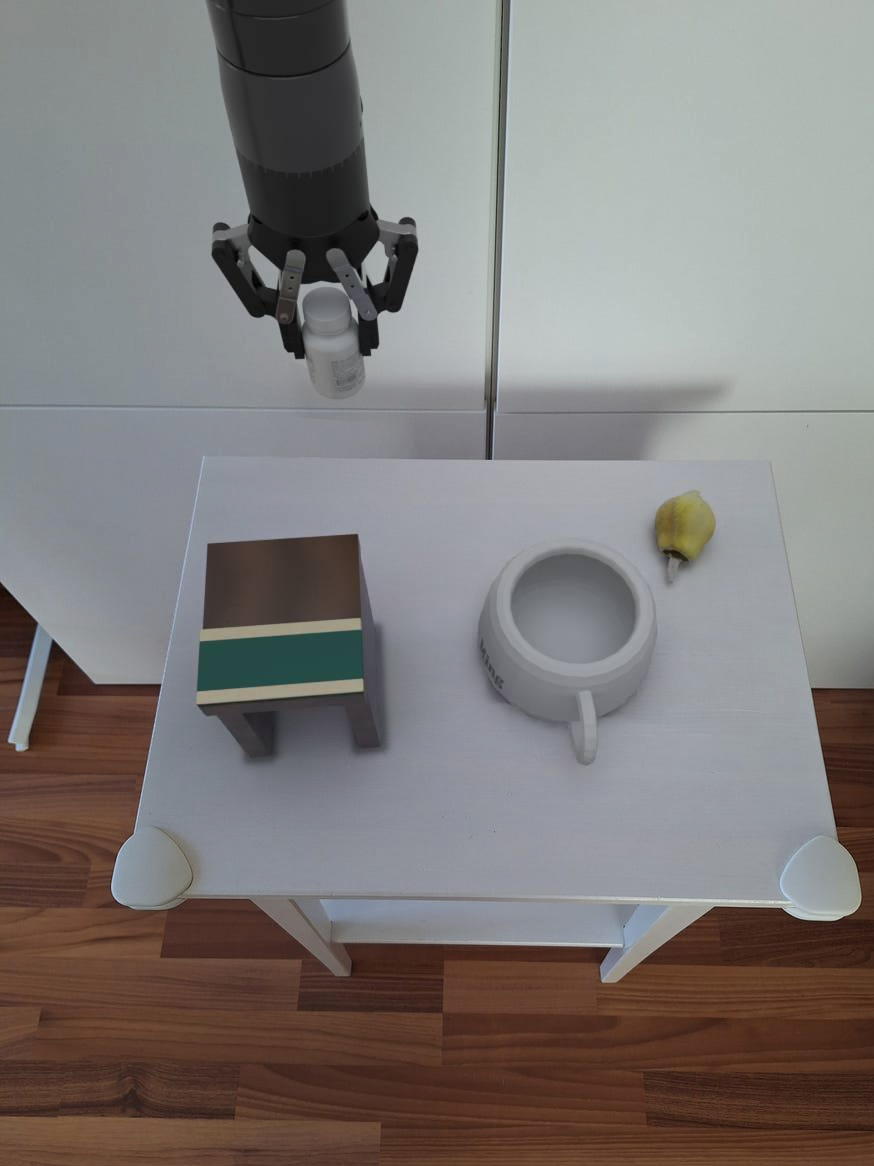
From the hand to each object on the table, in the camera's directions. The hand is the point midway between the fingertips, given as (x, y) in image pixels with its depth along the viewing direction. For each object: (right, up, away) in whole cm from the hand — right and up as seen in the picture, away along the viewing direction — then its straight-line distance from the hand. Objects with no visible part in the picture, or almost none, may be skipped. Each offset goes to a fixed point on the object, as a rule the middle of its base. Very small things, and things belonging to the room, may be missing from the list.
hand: (333, 349), depth 61 cm
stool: (-4, -27, +14) cm, 31 cm away
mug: (+19, -26, +16) cm, 36 cm away
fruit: (+32, -13, +23) cm, 41 cm away
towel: (-3, -24, -2) cm, 25 cm away
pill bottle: (0, -1, +3) cm, 4 cm away
